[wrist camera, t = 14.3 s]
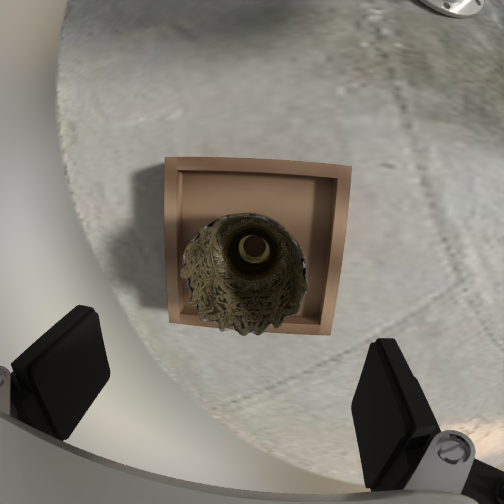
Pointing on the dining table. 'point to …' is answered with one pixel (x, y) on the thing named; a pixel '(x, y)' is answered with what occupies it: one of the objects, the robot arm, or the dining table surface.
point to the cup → (245, 273)
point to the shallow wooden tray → (266, 203)
